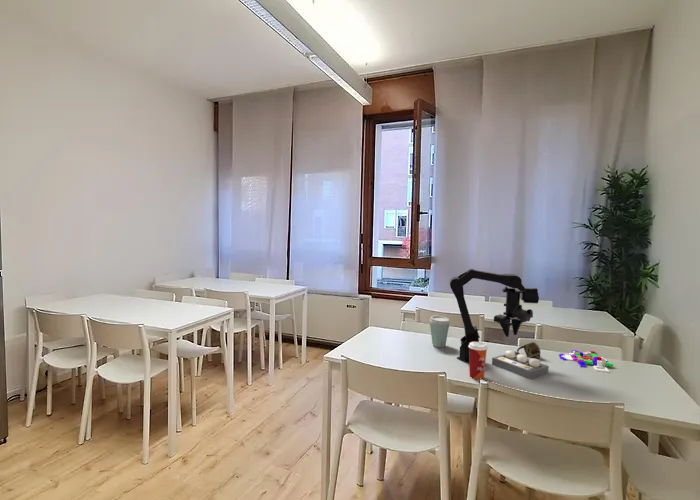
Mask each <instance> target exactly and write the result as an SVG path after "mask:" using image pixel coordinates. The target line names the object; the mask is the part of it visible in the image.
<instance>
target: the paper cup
mask: <svg viewBox="0 0 700 500" xmlns="http://www.w3.org/2000/svg"><path fill="white" fill-rule="evenodd" d="M468 347H469V362H468V365H469V367H468V368H469V369H468V370H469V377H470V378H471V377H472V378H471V379H473V378H475V379H474V380H481V379H480V378H483V379H484V376H485V369H486V360H487V350H488V346H487V344H486V343H484V342H482V341H481V342H480V341H479V342H470V343H469V346H468Z"/></svg>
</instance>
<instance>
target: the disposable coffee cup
mask: <svg viewBox="0 0 700 500" xmlns="http://www.w3.org/2000/svg"><path fill="white" fill-rule="evenodd" d="M428 321H429V326H430V327H429V328H430V334H431V335H430V336H431V343H432V346H433V347H435V348H445V347H446V344H447V339H448V332H449V328H450V324H451V320H450V319H449V317H446V316H443V315H430V318H429V320H428Z"/></svg>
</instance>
